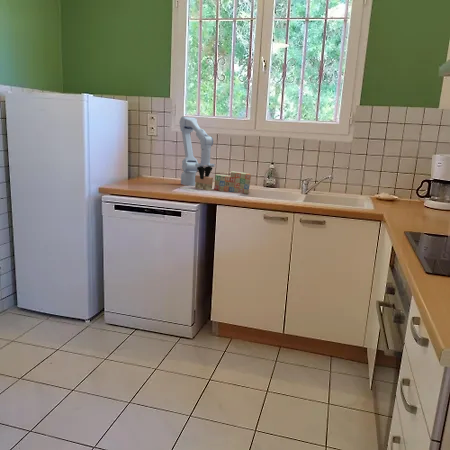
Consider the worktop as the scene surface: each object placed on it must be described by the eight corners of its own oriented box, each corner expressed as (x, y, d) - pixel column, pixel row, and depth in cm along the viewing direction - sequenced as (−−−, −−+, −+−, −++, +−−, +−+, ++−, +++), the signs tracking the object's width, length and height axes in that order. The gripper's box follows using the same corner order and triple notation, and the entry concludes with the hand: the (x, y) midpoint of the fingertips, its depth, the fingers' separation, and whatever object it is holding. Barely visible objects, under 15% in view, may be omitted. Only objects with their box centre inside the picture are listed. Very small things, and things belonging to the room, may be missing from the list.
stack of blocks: (213, 190, 263) (215, 169, 261) (214, 188, 269) (216, 169, 267) (248, 194, 262) (251, 174, 259) (248, 193, 268) (251, 173, 265)
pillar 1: (195, 187, 269) (195, 181, 268) (199, 187, 272) (200, 181, 271) (199, 188, 266) (199, 182, 265) (204, 188, 269) (204, 182, 268)
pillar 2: (202, 189, 264) (203, 183, 263) (207, 188, 267) (207, 183, 266) (207, 190, 261) (207, 184, 261) (211, 189, 264) (212, 184, 264)
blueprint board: (175, 188, 261) (175, 187, 261) (204, 187, 278) (204, 186, 278) (192, 192, 250) (192, 191, 250) (221, 191, 267) (221, 190, 267)
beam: (195, 181, 269) (195, 175, 268) (199, 181, 271) (199, 175, 270) (208, 184, 261) (208, 177, 260) (212, 184, 263) (212, 177, 262)
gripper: (201, 156, 255) (199, 179, 257) (218, 157, 265) (217, 179, 268) (193, 155, 259) (192, 178, 262) (210, 156, 270) (209, 178, 273)
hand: (204, 178), depth 265 cm, fingers closed on beam, 3 cm apart
